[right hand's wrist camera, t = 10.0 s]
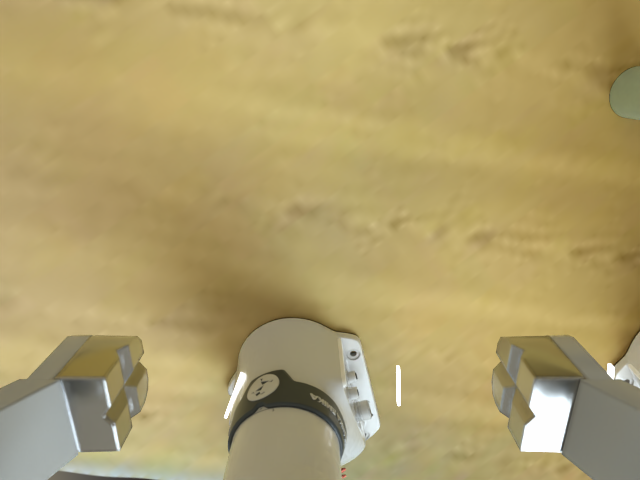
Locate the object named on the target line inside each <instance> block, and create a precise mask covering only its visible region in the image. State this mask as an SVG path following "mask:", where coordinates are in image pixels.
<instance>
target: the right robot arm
mask: <svg viewBox="0 0 640 480" xmlns="http://www.w3.org/2000/svg"><path fill="white" fill-rule="evenodd" d="M351 351H356V352H355V353H351ZM496 353H497V355H498V357H499V358H500V360H501V362H500V363H499V364H498V365H497V366H496V367H495V368H494V369H493V375H492V391H493V397H494V400H495V403H496V405H497V407H498V409H499V411H500V412H501V413H502V414H504V415H505V416H507V417H508V418H509V422H508V429H509V430H510V432H511V434H512V436H513V438H514V440H515V442H516V444H517V446H518V447H519V449H520V451H536V452H562V455H563V456H565V457H566V458H567V459H568V460H570V461H571V462H572V463H573V464H574V465H576V466H577V467H578V468H579V469H581V470H582V471H583V472H584V473H586V474H587V475H588V476H589V477H590V478H592V479H593V480H640V388H638V387H636V386H634V385H632V384H630V383H627V382H625V381H623V380H621V379H613V378H612V377H611V376H610V375H609V374H608V373H607V372H606V371H605V370H604V369H603V368H602V367H601V366H600V365H599V364H598V363H597V362H596V360H595V359H594V358H593V357H592V356H591V355H590V354H589V353H588V352H587V351H586V350H585V349H584V348H583V347H582V346H581V345H580V344H579V343H578V341H577V340H576V339H575V338H574V337H572V336H569V335H550V336H519V337H500V339H499V341H498V344H497V350H496ZM143 354H144V350H143V345H142V340H141V339H140V338H139V337H138V336H104V335H95V336H93V335H72V336H68V337H66V338H65V339H64V341H63V342H62V343H61V344H60V345H59V346H58V347H57V348H56V349H55V350H54V351H53V352H52V353H51V354H50V355H49V356H48V357H47V358H46V360H45V361H44V362H43V363H42V364H41V365H40V366H39V367H38V368H37V369H36V370H35V371H34V372H33V373H32V374H31V375H30V376H29V377H28V378H27V379H19V380H17V381H15V382H13V383H10V384H8V385H6V386H4V387H2V388H0V480H47V479H48V478H50V477H51V476H52V475H53V474H55V473H56V472H57V471H58V470H60V469H61V468H62V467H63V466H65V465H66V464H67V463H68V462H69V461H71V460H72V459H73V458H74V457H76V456H77V455H78V452H103V451H120V449H121V448H122V446H123V444H124V442H125V440H126V438H127V436H128V434H129V432H130V431H131V429H132V422H131V418H132V417H133V416H135V415H136V414H138V413H139V412H140V411H141V409H142V407H143V405H144V403H145V400H146V396H147V391H148V374H147V369H146V368H145V367H144V366H143V365H142V364H141V363H140V362H139V360H140V358H141V357H142V355H143ZM396 367H397V404H398V406H400V367H399V366H396ZM228 393H229V395H230V396H231V400H230V403H229V405H228V408H227V411H226V413H225V417H224V418H227V416H228V414H229V411H230V418H229V425H230V429H229V439H228V451H229V456H228V461H227V465H226V469H225V473H224V478H223V480H342V478H344V477H346V475H342V473H343V472H344V471H345V470H346V469H345V468H341V466H342V465H344V464H346V463H348V462H350V461H351V460H353V459H354V458H356V457H357V456H358V455H359V454H360V453H361V452H362V451H363V449H364V448H365V444H366V442H365V441H366V440H367V439H369V438H370V437H371V436H372V435H373V434H374V433H375V432H376V431H377V430H378V429H379V427H380V418H379V413H378V409H377V405H376V401H375V397H374V393H373V389H372V385H371V381H370V377H369V373H368V369H367V365H366V361H365V357H364V353H363V349H362V344H361V341H360V339H359V337H357V336H356V335H353V334H349V333H342V332H335V331H333V330H331V329H329V328H327V327H325V326H323V325H321V324H319V323H316V322H314V321H310V320H306V319H300V318H285V319H279V320H275V321H271V322H269V323H266V324H264V325H262V326H261V327H259V328H257V329H256V330H255V331H254V332H252V333H251V334H250V335H249V336H248V338H247V339H246V340H245V342H244V343H243V345H242V347H241V350H240V353H239V357H238V366H237V371H236V372H235V374H234V375H233V377H232V378H231V380H230V382H229V385H228ZM230 408H231V410H230Z"/></svg>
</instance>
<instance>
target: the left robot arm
mask: <svg viewBox="0 0 640 480" xmlns="http://www.w3.org/2000/svg"><path fill="white" fill-rule="evenodd" d="M607 373H608V374H609V375H610V376H611V377H612V378H613V379H621V380H623V381H625V382H627V383H630V384H632V385H634V386H636V387H638V388H640V332H639V333H638V334H637V336H636V337H635V338H634V340H633V342H632V344H631V346H630V348H629V350H628V352H627V353H626V355H625V356H624V357H623V358H622V359H621V360H620V361H619V362H618V363H617V364H616V365H615V366H613V365H612V364H608V369H607Z"/></svg>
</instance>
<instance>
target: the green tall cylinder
mask: <svg viewBox="0 0 640 480" xmlns="http://www.w3.org/2000/svg"><path fill="white" fill-rule="evenodd" d="M609 99H610V105H611V107H612V109H613V111H614V112H615V113H616V114H617V115H619V116H621V117H624V118H630V119H636V120H640V66H636V67H633V68H630V69H628V70H626V71H625V72H623V73H622V74H621V75H620V76H619V77H618V78H617V79H616V81H615V82H614V84H613V86H612V88H611V91H610V98H609Z"/></svg>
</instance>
